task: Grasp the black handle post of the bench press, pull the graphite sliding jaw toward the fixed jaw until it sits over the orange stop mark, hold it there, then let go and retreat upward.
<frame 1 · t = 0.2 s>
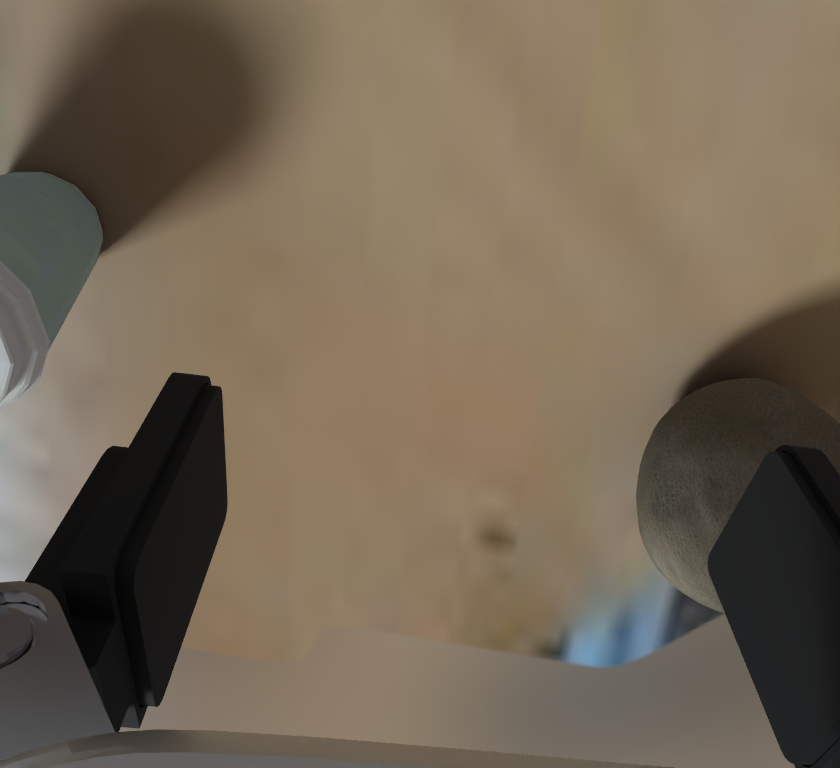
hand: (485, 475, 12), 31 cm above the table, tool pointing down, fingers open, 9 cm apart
cantaloupe: (706, 421, 50), on the table
disposable coffee cup: (56, 215, 42), on the table
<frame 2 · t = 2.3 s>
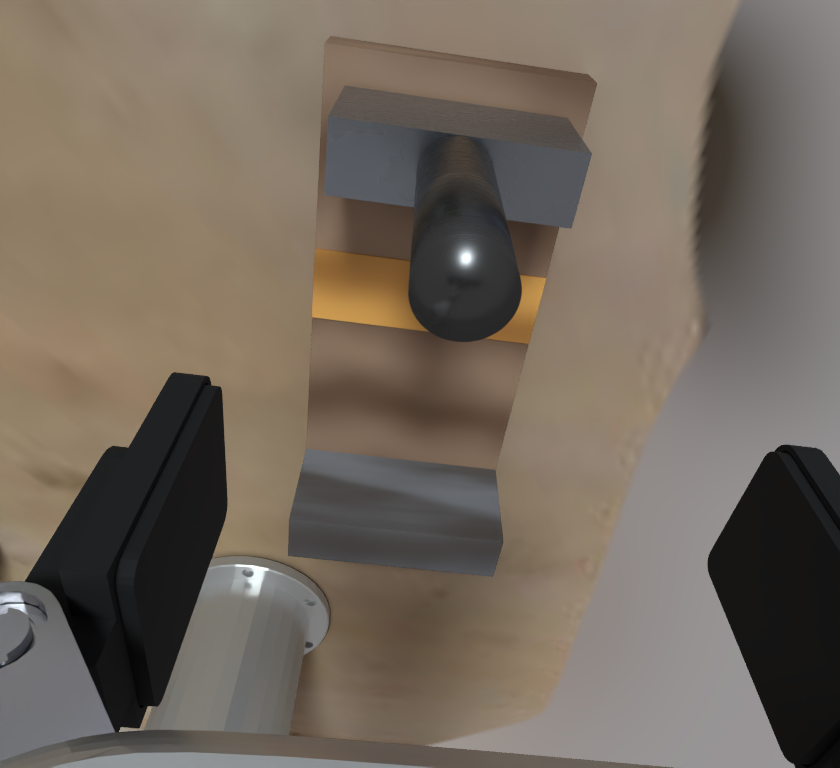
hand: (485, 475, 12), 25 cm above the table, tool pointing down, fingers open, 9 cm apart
sliding jaw: (456, 194, 24), point 10 cm above the table, slide at 0.0 cm
press base: (423, 304, 38), on the table
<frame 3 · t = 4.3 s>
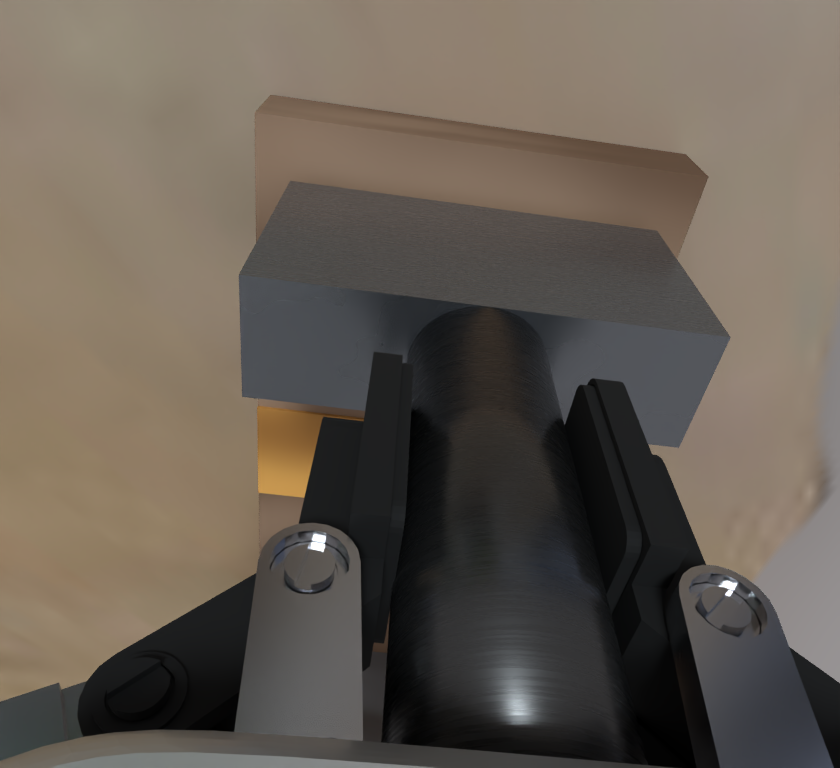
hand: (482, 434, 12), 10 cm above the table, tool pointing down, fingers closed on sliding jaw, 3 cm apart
sliding jaw: (482, 434, 12), point 10 cm above the table, slide at 0.0 cm, touching gripper
press base: (421, 462, 27), on the table
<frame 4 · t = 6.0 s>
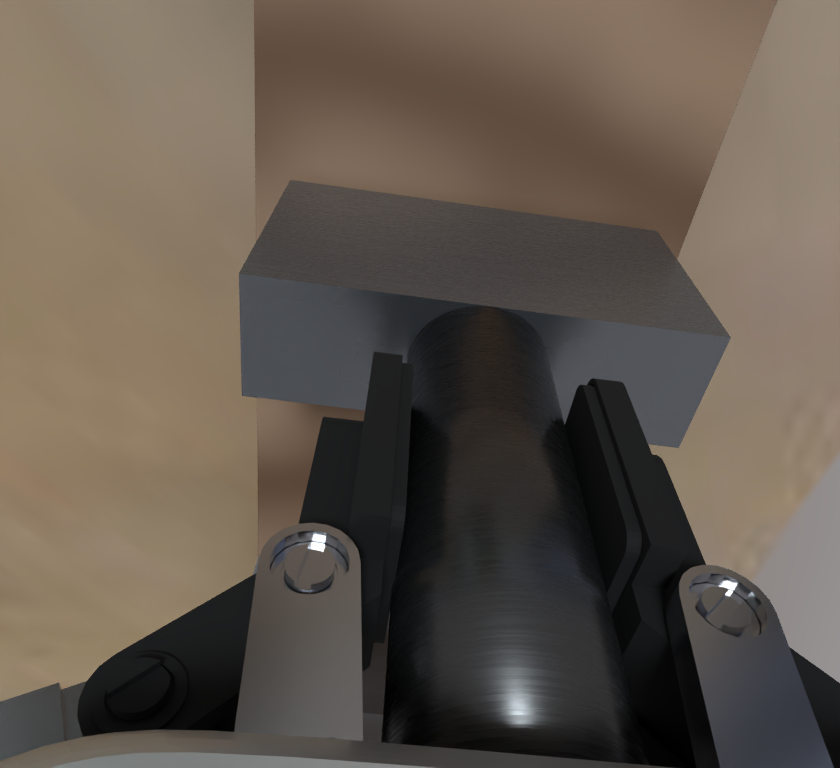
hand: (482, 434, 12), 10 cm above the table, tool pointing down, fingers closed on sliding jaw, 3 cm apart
sliding jaw: (482, 433, 12), point 10 cm above the table, slide at 5.8 cm, touching gripper
press base: (443, 339, 23), on the table
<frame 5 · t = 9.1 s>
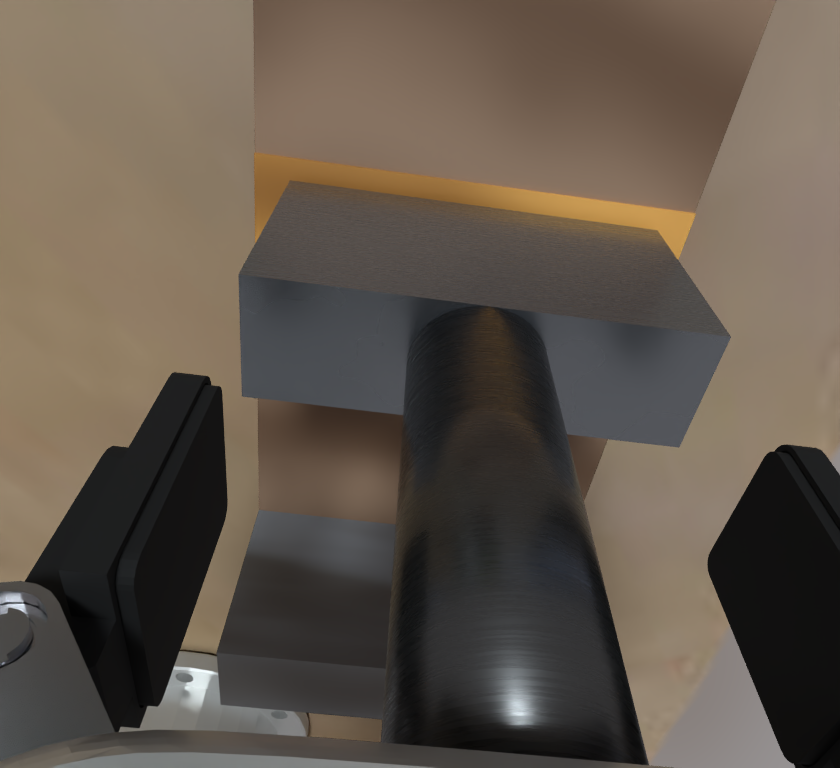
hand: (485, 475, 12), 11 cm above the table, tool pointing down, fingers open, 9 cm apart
sliding jaw: (482, 433, 12), point 10 cm above the table, slide at 8.5 cm
press base: (456, 268, 22), on the table
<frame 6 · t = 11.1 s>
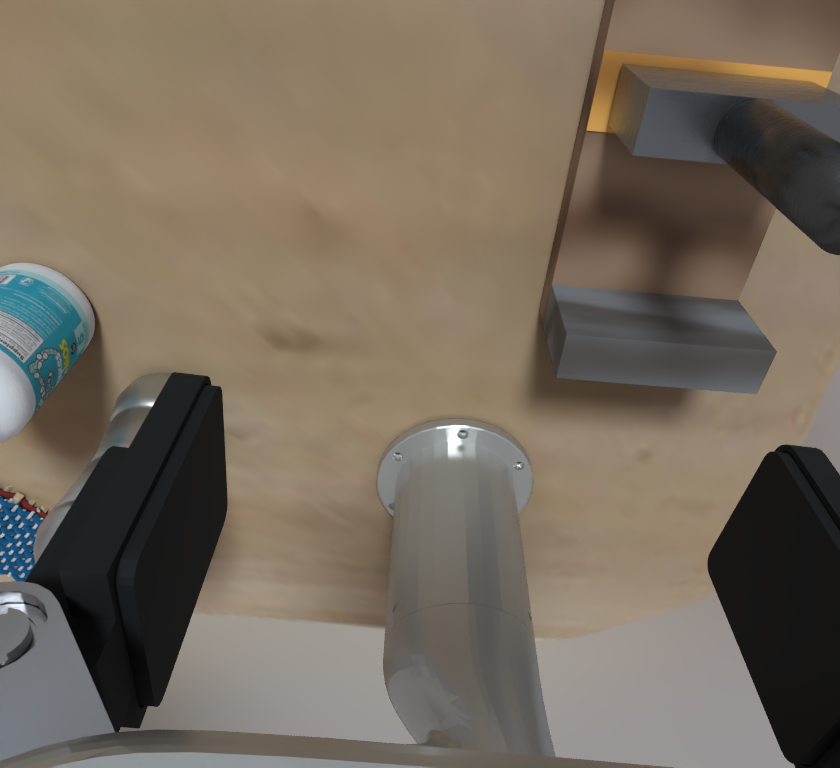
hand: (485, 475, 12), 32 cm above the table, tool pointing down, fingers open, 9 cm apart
sliding jaw: (767, 146, 29), point 10 cm above the table, slide at 8.5 cm
pill bottle: (46, 305, 47), on the table
press base: (685, 121, 38), on the table
plastic bottle: (175, 395, 51), on the table
woven mat: (24, 526, 61), on the table
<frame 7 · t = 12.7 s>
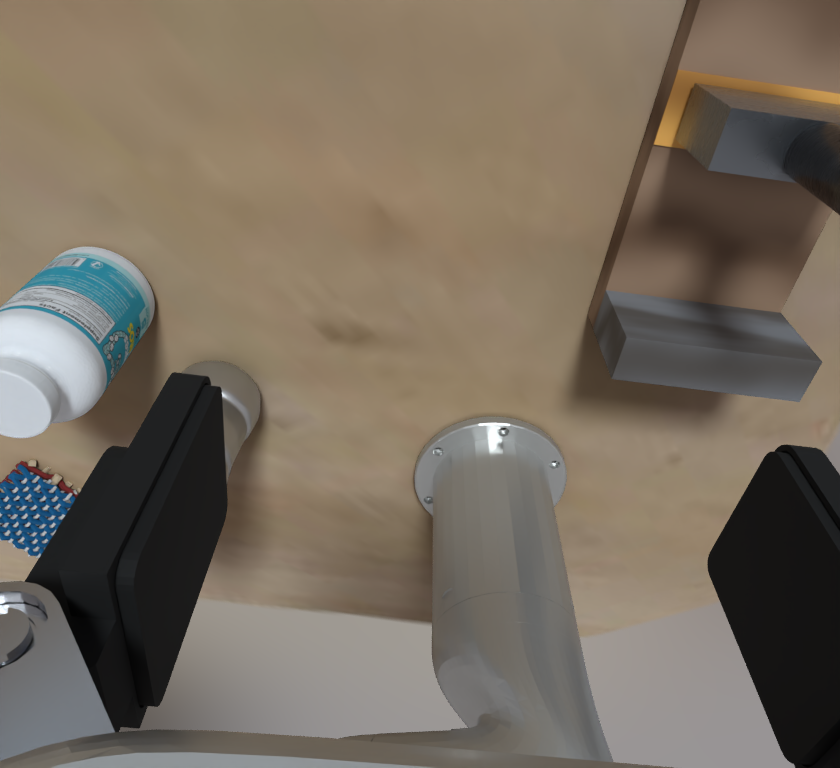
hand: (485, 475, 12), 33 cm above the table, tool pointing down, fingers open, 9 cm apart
sliding jaw: (839, 168, 31), point 10 cm above the table, slide at 8.5 cm
pill bottle: (106, 289, 47), on the table
press base: (743, 140, 40), on the table
plastic bottle: (224, 383, 52), on the table
woven mat: (56, 508, 61), on the table
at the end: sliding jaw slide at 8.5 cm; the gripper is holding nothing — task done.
